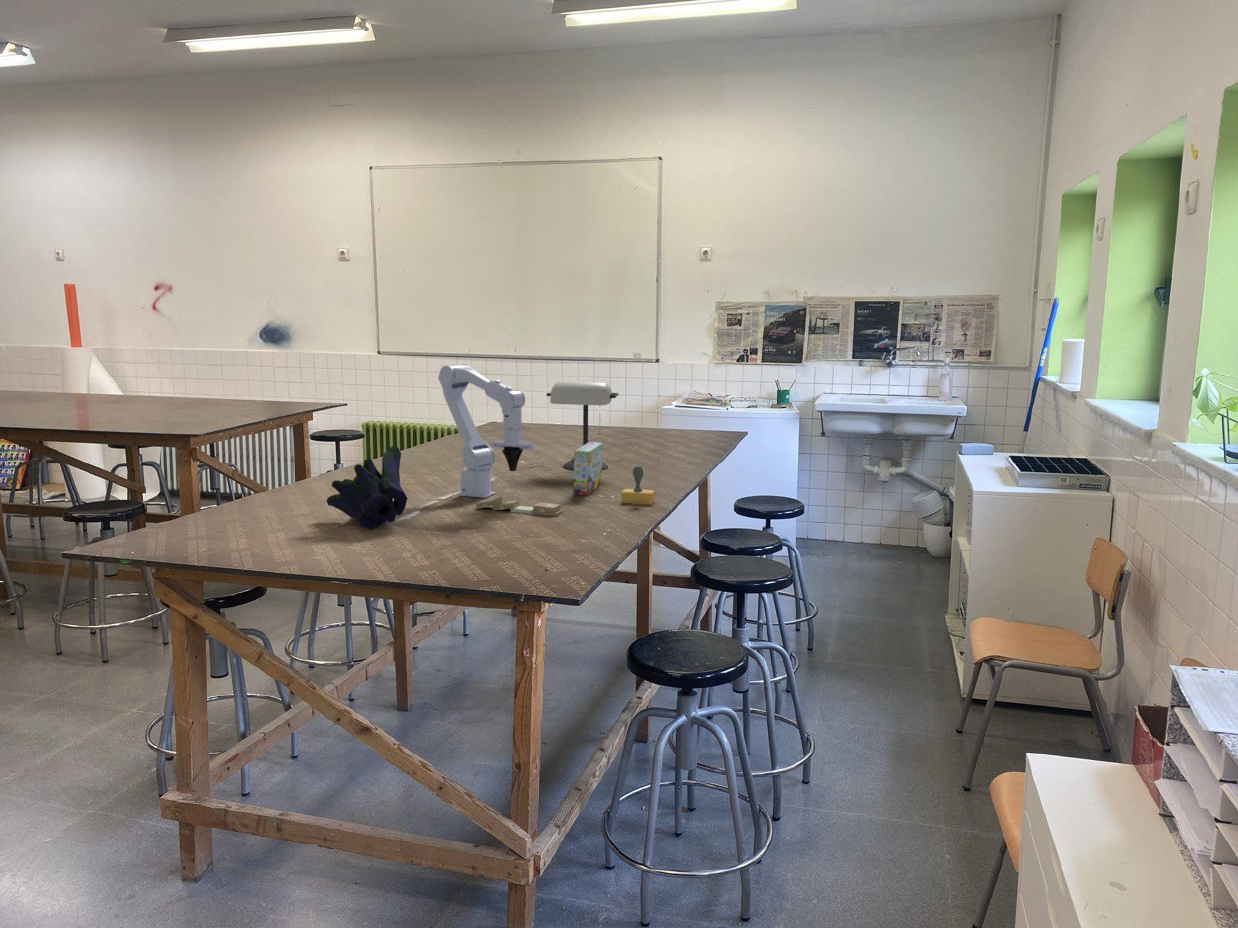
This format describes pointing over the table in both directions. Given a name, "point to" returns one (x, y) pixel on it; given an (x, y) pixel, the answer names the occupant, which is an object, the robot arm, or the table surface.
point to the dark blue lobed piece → (372, 492)
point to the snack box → (587, 468)
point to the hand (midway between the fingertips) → (512, 470)
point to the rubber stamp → (637, 491)
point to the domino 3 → (523, 509)
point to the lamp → (582, 402)
